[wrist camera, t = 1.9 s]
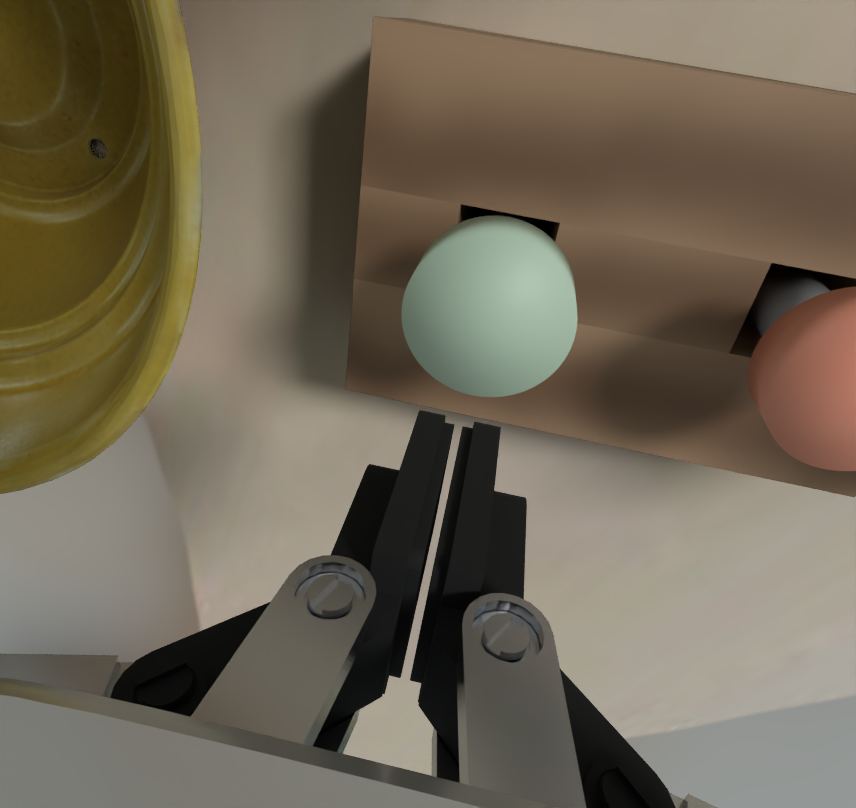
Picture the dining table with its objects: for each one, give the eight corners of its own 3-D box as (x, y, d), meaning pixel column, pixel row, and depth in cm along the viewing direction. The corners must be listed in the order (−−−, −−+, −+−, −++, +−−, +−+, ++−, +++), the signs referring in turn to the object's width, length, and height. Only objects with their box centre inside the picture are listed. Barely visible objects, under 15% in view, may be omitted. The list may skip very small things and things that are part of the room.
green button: (449, 166, 23) (412, 218, 17) (585, 191, 23) (600, 254, 16) (430, 293, 26) (393, 378, 19) (551, 317, 25) (552, 411, 19)
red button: (742, 219, 22) (818, 295, 16) (887, 246, 22) (1024, 335, 16) (689, 344, 25) (736, 450, 19) (817, 370, 25) (909, 486, 18)
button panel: (410, 18, 24) (373, 16, 19) (982, 115, 23) (1106, 140, 18) (377, 331, 32) (345, 389, 27) (803, 419, 30) (854, 497, 25)
